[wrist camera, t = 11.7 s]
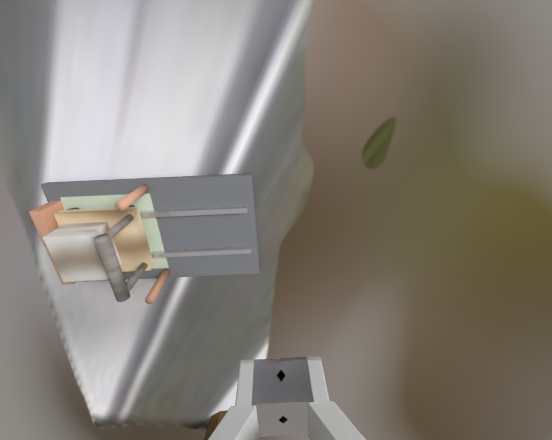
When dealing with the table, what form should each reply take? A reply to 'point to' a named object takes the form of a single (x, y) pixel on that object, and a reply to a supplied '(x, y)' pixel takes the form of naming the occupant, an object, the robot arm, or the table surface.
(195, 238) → the dock mat
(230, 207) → the rails
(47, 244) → the tan box with handle
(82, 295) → the table surface
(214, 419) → the flowerpot
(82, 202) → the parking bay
